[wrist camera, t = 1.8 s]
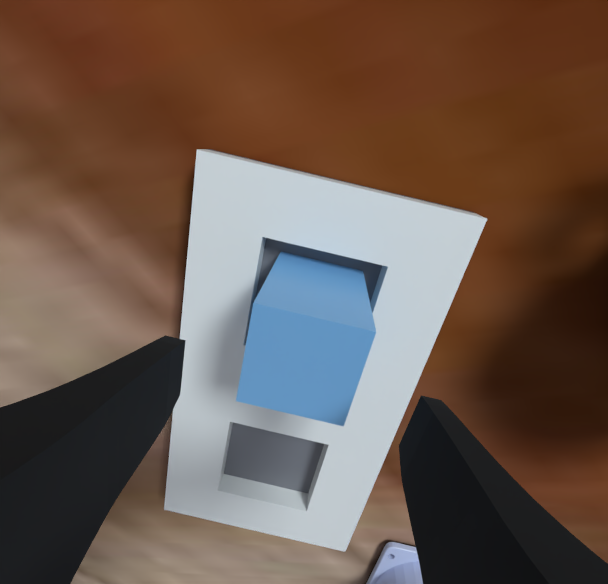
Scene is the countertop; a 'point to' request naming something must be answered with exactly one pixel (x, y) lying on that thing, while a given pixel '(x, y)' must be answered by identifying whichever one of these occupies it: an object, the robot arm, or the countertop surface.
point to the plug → (307, 339)
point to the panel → (234, 330)
